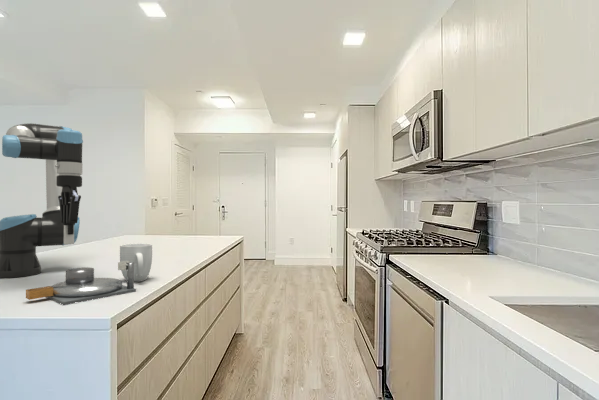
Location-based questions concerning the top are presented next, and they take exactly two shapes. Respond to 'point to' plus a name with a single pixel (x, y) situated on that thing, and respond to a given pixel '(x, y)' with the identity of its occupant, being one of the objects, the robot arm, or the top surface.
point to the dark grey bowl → (79, 275)
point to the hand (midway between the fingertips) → (68, 244)
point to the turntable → (76, 289)
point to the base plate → (84, 298)
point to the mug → (137, 259)
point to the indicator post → (128, 272)
